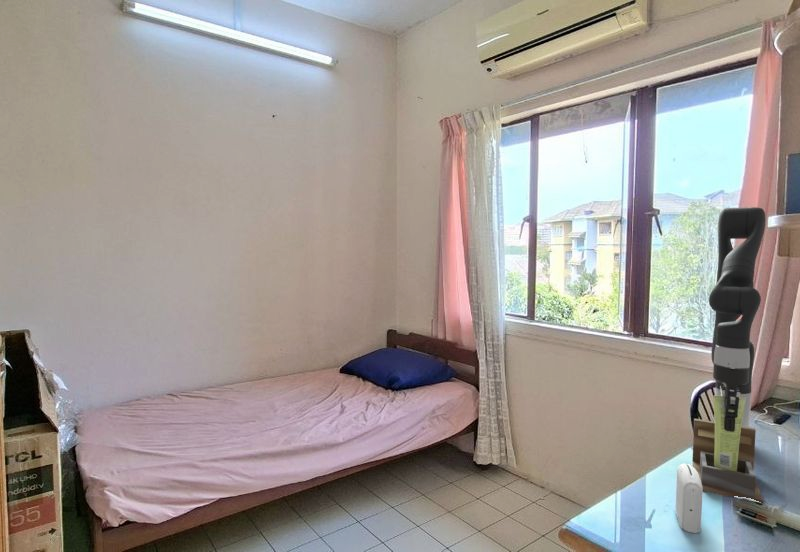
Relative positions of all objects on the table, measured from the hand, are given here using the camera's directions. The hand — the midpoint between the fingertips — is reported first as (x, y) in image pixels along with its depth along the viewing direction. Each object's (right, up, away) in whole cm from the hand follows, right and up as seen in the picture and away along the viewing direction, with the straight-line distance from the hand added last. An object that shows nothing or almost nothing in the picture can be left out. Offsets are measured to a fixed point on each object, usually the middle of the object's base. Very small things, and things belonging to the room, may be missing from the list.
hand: (728, 427), depth 119 cm
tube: (0, -11, +1) cm, 11 cm away
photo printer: (-20, -17, -14) cm, 29 cm away
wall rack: (+1, -15, +3) cm, 16 cm away
